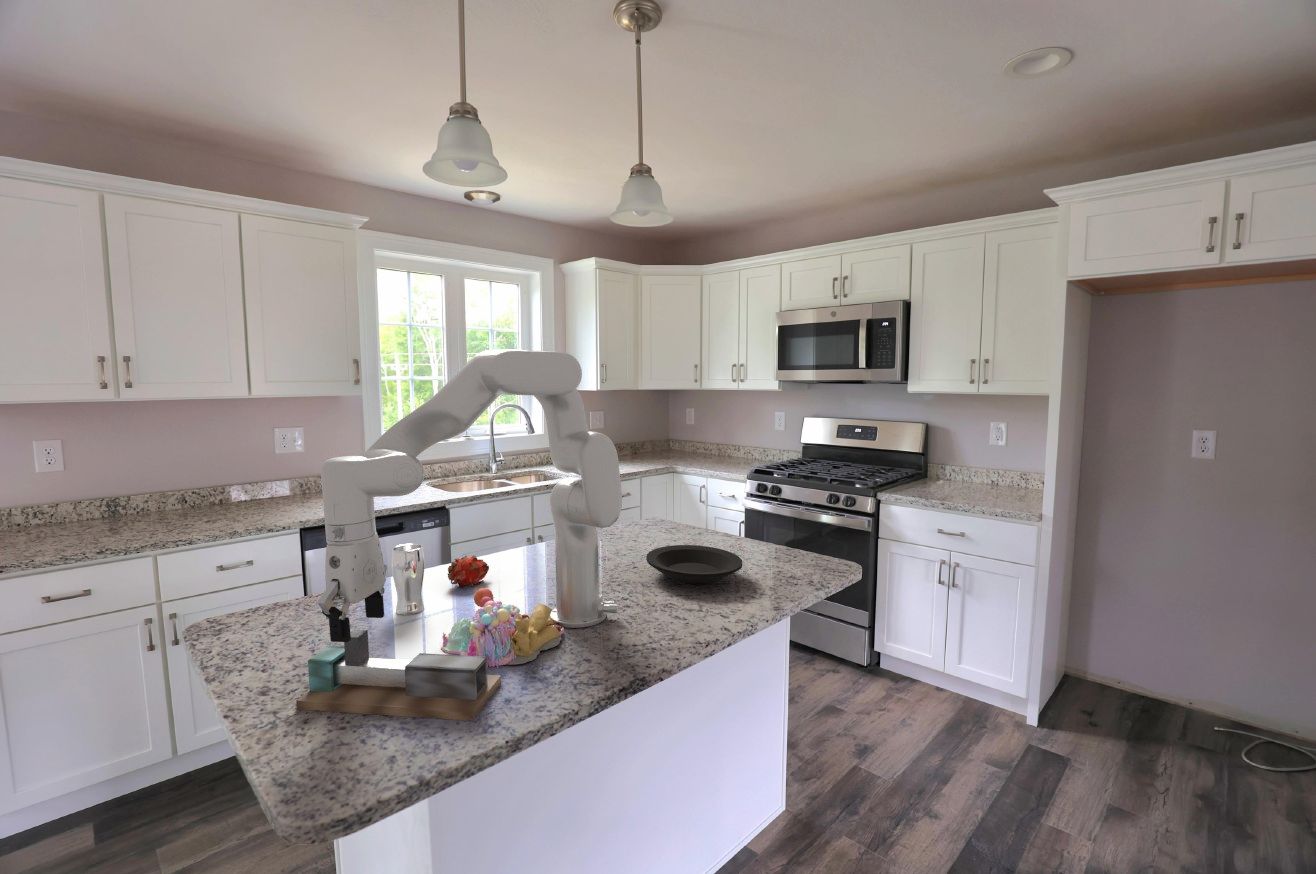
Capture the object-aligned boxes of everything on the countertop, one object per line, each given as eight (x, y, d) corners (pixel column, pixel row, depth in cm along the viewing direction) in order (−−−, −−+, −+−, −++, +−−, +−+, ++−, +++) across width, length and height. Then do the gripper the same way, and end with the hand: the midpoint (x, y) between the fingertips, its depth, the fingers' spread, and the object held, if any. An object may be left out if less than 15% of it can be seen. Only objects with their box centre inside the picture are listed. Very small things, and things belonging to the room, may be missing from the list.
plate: (763, 584, 161) (763, 563, 160) (689, 603, 148) (689, 580, 147) (696, 558, 184) (696, 540, 184) (628, 573, 171) (627, 553, 170)
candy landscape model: (579, 625, 136) (578, 584, 135) (535, 676, 113) (533, 627, 112) (474, 617, 141) (473, 577, 140) (412, 663, 118) (410, 616, 117)
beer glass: (414, 617, 140) (412, 552, 139) (387, 615, 141) (384, 550, 140) (432, 606, 147) (429, 544, 145) (405, 604, 148) (402, 542, 147)
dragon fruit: (443, 596, 158) (485, 591, 166) (458, 582, 153) (501, 578, 162) (437, 565, 161) (478, 562, 170) (451, 551, 157) (493, 548, 165)
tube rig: (501, 683, 109) (499, 646, 109) (472, 720, 97) (471, 679, 97) (342, 674, 113) (340, 638, 112) (296, 709, 101) (294, 669, 100)
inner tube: (437, 679, 106) (435, 633, 105) (428, 689, 103) (426, 641, 102) (334, 673, 108) (331, 628, 107) (322, 682, 105) (319, 635, 104)
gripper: (339, 545, 95) (348, 652, 96) (399, 518, 112) (406, 609, 114) (294, 545, 95) (303, 651, 97) (361, 517, 113) (367, 608, 114)
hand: (358, 628), depth 105 cm, fingers open, 9 cm apart
